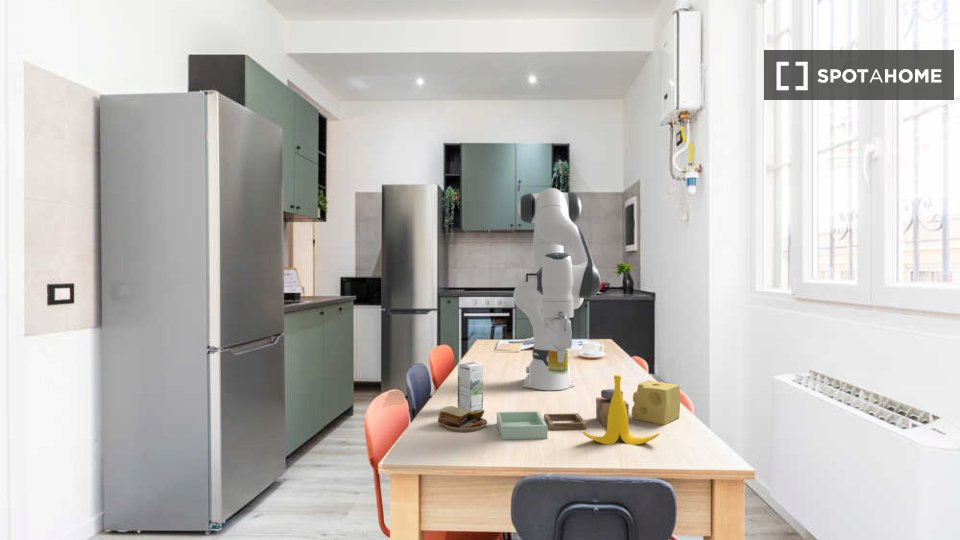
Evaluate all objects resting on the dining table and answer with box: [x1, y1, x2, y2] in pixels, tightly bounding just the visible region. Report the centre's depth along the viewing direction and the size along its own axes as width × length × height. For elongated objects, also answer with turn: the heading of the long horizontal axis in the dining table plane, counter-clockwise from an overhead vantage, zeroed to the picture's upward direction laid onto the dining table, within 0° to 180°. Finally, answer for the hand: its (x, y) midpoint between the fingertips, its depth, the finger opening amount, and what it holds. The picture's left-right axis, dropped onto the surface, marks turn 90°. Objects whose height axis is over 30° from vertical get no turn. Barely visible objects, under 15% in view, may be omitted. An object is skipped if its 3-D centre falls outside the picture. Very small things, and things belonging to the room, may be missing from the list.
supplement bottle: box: [548, 338, 569, 374], centre depth 151 cm, size 5×5×10 cm
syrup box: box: [457, 361, 484, 412], centre depth 168 cm, size 6×6×14 cm
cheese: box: [631, 380, 681, 426], centre depth 158 cm, size 10×11×10 cm
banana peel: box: [581, 374, 661, 446], centre depth 138 cm, size 17×19×17 cm
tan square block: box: [595, 388, 630, 427], centre depth 155 cm, size 8×7×9 cm
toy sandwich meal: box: [437, 405, 488, 433], centre depth 152 cm, size 12×14×5 cm
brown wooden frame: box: [543, 412, 588, 431], centre depth 153 cm, size 10×10×2 cm
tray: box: [496, 410, 548, 441], centre depth 147 cm, size 14×12×3 cm
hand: (557, 360), depth 151 cm, fingers closed on supplement bottle, 5 cm apart
